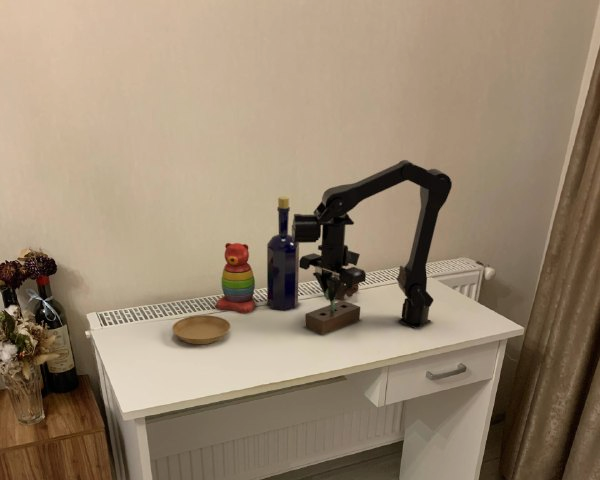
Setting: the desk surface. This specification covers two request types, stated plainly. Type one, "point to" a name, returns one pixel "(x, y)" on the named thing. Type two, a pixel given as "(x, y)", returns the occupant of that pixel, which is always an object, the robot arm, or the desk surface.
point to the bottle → (282, 264)
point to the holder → (332, 317)
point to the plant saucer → (201, 329)
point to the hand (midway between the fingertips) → (330, 300)
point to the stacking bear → (237, 280)
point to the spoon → (332, 303)
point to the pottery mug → (346, 291)
